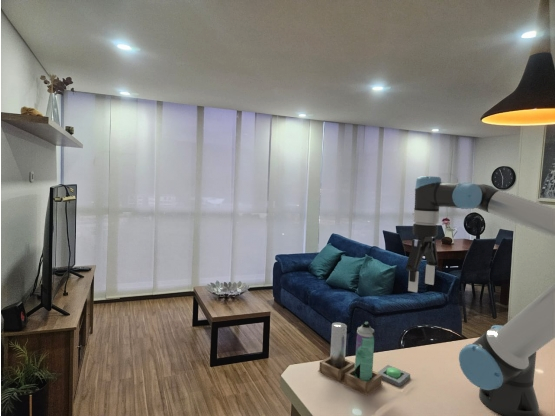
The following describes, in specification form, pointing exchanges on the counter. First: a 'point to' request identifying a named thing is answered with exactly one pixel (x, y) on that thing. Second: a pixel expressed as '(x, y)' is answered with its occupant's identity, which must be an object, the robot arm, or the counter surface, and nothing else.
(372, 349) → the spray can
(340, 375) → the wooden double crate
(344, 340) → the seated billet
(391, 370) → the button
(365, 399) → the counter surface
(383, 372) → the gray square frame
